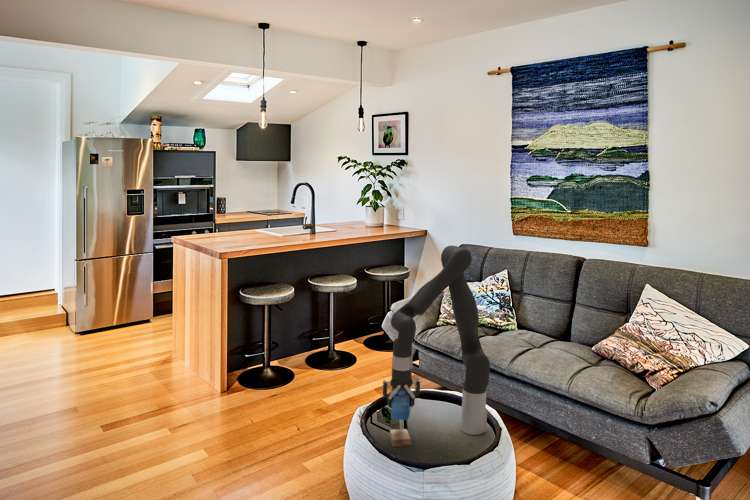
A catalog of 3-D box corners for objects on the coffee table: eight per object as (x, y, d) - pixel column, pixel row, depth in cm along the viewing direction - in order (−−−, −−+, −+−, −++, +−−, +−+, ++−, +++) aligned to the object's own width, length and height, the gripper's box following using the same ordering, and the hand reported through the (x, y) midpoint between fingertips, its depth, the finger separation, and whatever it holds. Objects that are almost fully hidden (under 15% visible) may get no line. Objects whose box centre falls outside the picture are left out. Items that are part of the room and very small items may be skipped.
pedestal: (407, 435, 212) (407, 428, 212) (410, 445, 205) (411, 437, 205) (389, 436, 211) (389, 429, 211) (392, 446, 204) (392, 439, 204)
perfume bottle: (407, 420, 203) (408, 390, 200) (391, 418, 204) (391, 388, 202) (409, 412, 209) (410, 383, 206) (394, 410, 210) (394, 381, 208)
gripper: (418, 361, 207) (417, 401, 210) (381, 362, 205) (380, 403, 208) (423, 369, 200) (421, 410, 203) (384, 370, 198) (383, 412, 201)
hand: (400, 406), depth 206 cm, fingers closed on perfume bottle, 7 cm apart
